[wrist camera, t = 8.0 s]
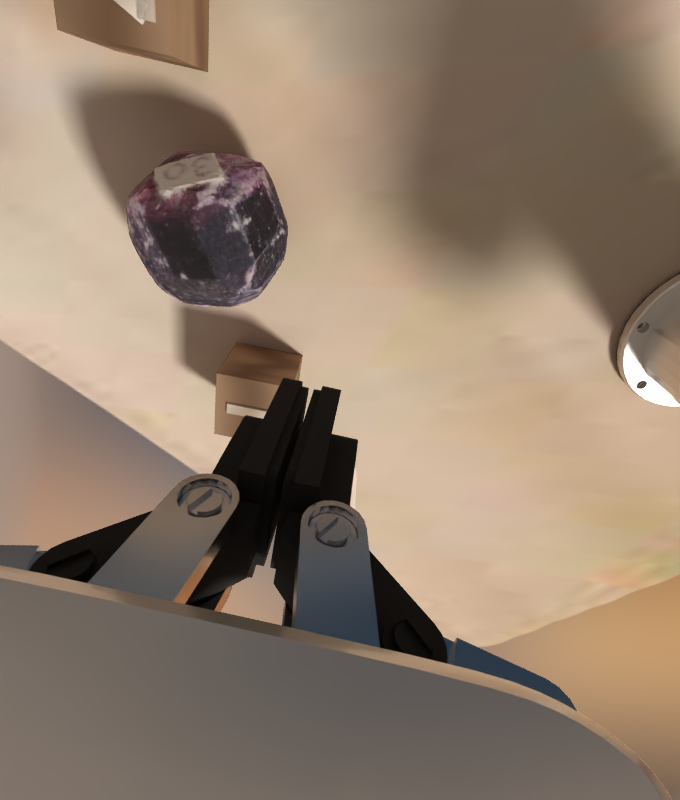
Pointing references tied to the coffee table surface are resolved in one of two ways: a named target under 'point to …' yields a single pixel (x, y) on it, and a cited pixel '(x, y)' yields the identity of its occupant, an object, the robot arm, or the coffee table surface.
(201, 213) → the mineral specimen
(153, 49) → the brown cube
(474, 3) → the coffee table surface
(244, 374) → the walnut block
